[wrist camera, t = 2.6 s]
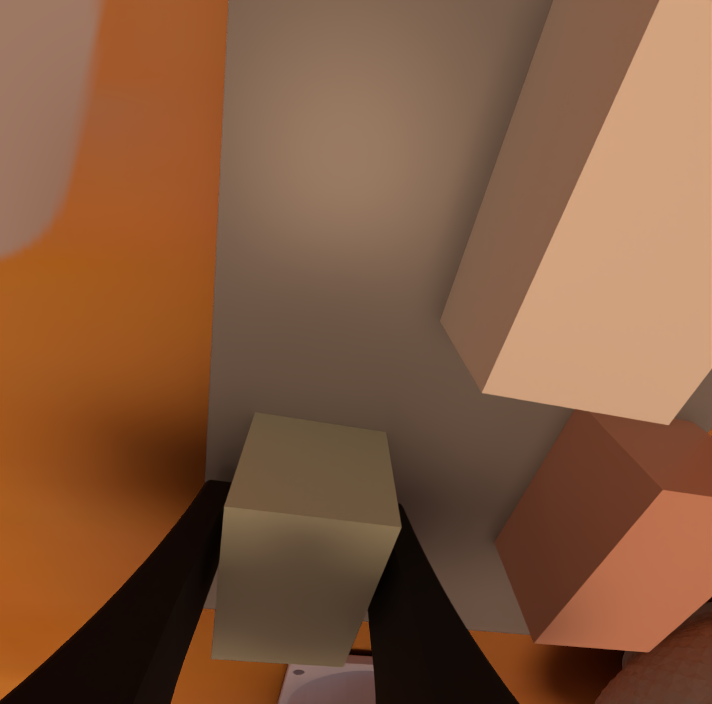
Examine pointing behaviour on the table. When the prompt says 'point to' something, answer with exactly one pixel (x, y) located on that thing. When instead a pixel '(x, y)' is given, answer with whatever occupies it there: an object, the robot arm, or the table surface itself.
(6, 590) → the table surface
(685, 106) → the cream base brick
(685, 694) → the cereal bowl
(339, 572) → the sage brick
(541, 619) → the terracotta brick
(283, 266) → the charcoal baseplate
